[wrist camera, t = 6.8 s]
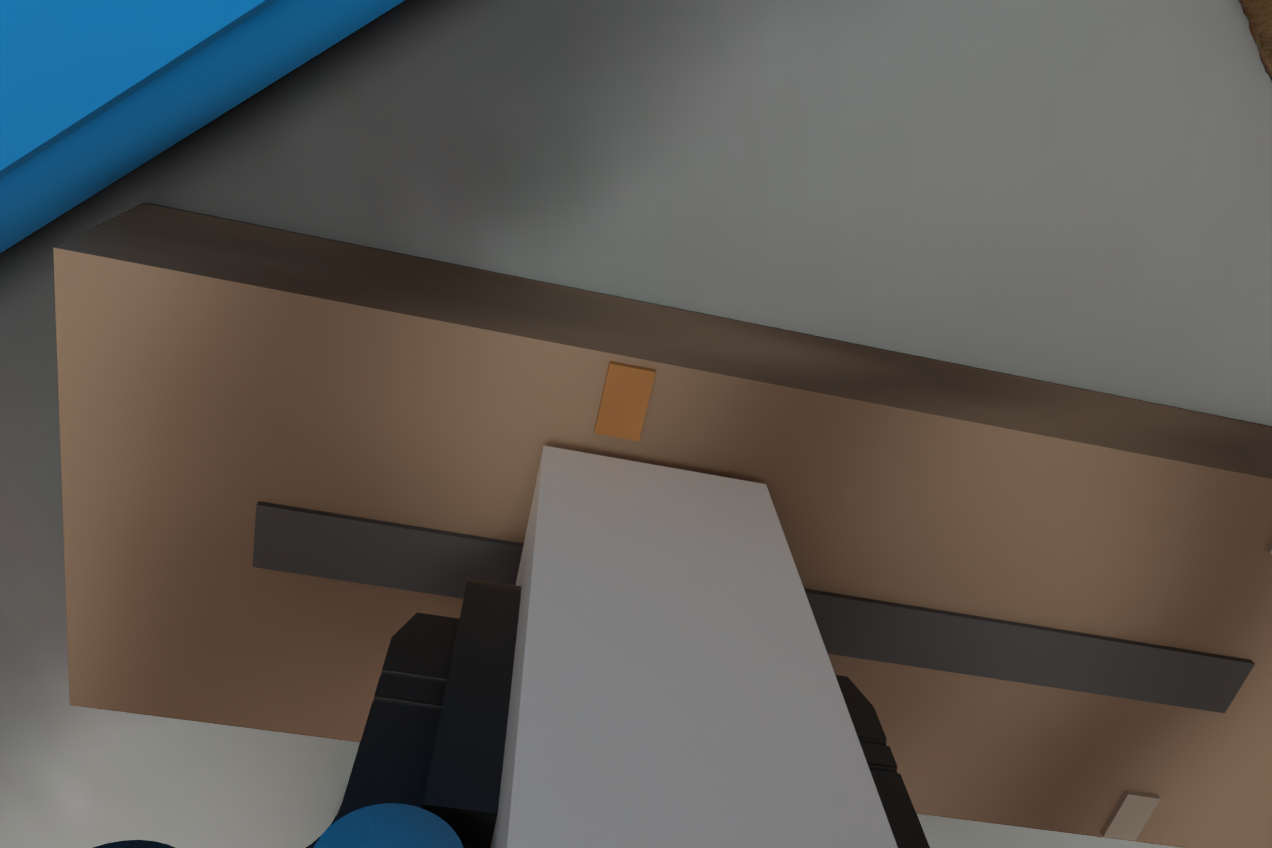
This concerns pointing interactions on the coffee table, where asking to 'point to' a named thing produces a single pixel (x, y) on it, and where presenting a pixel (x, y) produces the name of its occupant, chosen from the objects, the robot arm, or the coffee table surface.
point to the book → (135, 84)
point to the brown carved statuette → (1261, 27)
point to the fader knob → (672, 674)
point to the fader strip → (671, 437)
